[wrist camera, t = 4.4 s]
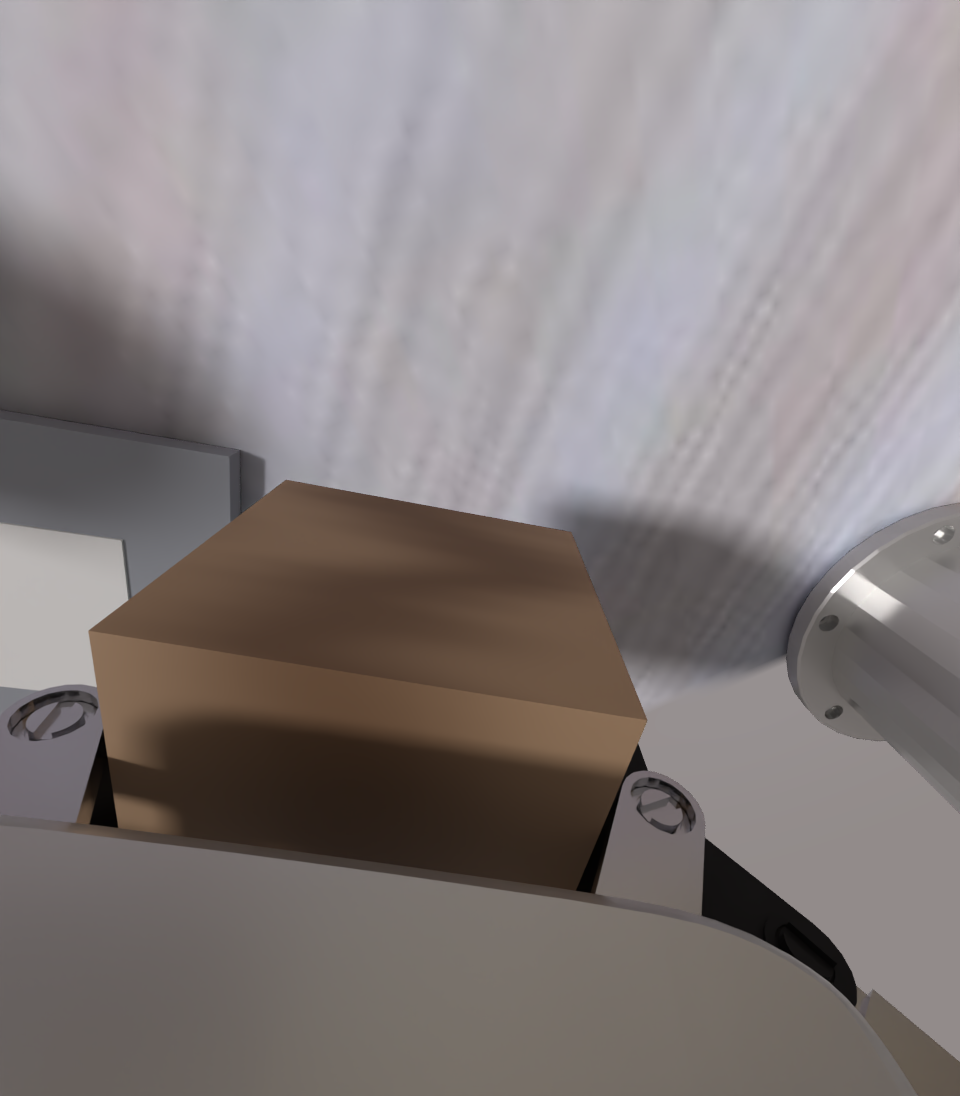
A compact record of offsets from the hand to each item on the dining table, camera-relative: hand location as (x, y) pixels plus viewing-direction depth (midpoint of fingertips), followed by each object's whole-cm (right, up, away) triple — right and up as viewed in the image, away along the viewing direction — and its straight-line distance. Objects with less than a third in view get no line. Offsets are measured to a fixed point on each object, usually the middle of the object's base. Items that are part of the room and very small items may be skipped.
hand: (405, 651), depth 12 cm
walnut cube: (0, 0, +1) cm, 1 cm away
